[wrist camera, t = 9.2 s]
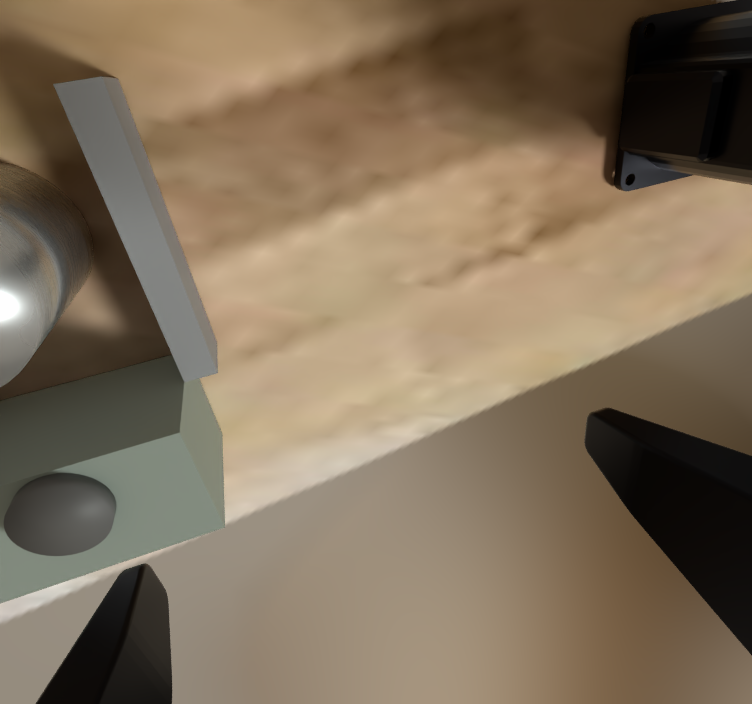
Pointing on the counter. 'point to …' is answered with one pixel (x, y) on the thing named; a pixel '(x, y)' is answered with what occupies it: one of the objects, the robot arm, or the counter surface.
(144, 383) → the grey u-shaped bracket
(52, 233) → the bottle
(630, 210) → the counter surface
